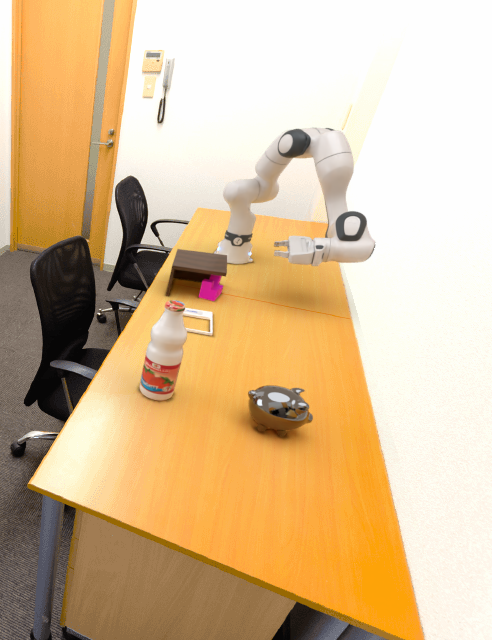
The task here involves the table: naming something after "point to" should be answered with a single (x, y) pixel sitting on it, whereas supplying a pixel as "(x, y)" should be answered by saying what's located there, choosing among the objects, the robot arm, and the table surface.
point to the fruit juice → (164, 353)
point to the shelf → (196, 266)
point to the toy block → (211, 288)
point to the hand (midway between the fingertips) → (274, 248)
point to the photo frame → (202, 315)
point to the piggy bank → (278, 408)
